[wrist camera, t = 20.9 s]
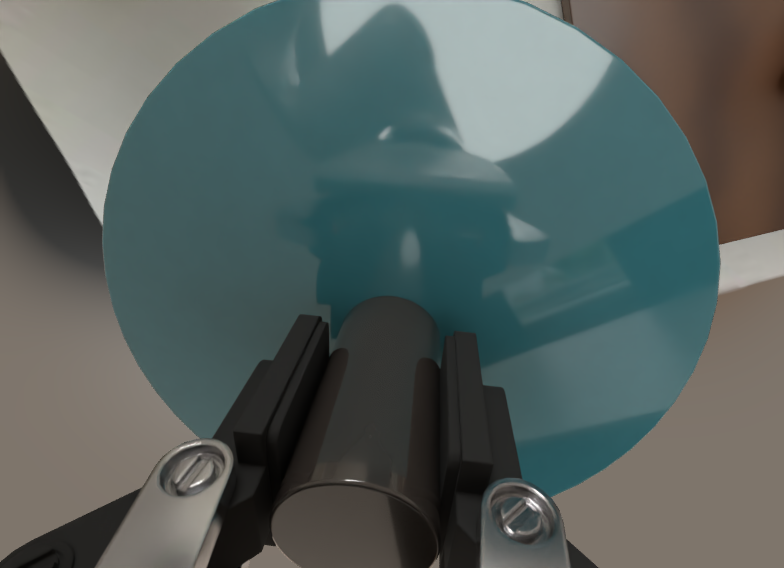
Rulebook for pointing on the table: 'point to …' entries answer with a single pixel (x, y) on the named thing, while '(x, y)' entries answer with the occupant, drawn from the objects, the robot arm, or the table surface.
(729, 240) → the board
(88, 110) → the table surface
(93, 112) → the table surface
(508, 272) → the lid
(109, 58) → the table surface
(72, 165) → the table surface
